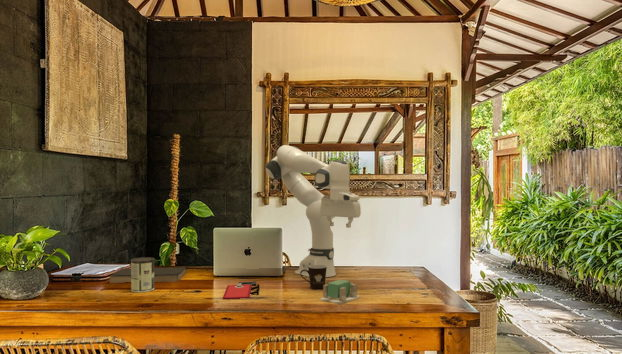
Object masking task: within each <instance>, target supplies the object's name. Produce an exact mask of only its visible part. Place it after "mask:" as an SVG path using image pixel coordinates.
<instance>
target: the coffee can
mask: <svg viewBox="0 0 622 354" xmlns="http://www.w3.org/2000/svg"><path fill="white" fill-rule="evenodd" d="M130 268H131V283H130V291H131V292H132V293H147V292H151V291H154V290H155V282H154V268H155V257H152V256H151V257H150V256H146V257H134V258H132V259H130Z"/></svg>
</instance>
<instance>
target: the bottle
mask: <svg viewBox="0 0 622 354" xmlns="http://www.w3.org/2000/svg"><path fill="white" fill-rule="evenodd" d="M327 284H328V296H329V297H334V298H340V288H342V287H345V288H346V295H349V294H350V293H351V285H352V284H354V283H353V282H351V281H350V280H344V279H337V280H336V279H335V280H333V281H329V282H328V283H327Z"/></svg>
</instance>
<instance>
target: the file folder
mask: <svg viewBox="0 0 622 354" xmlns="http://www.w3.org/2000/svg"><path fill="white" fill-rule="evenodd" d="M187 272H188V271H187V267H185V266H184V267H181V266H180V267H154V283H162V282H163V283H165V282H166V283H169V282H173V283H174V282H175V283H176V282H180V280H181V279H182V278H183V277H184V276H185V274H187ZM108 280H109V281H108V282H109V284H117V283H118V284H120V283H123V284H126V283H125V282H131V267H130V268H129V267H128V268H127V267H126V268H125V267H124V268H120V269H119V270H117V271H115V272H113V273H112V274H111V275H109V279H108Z"/></svg>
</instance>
